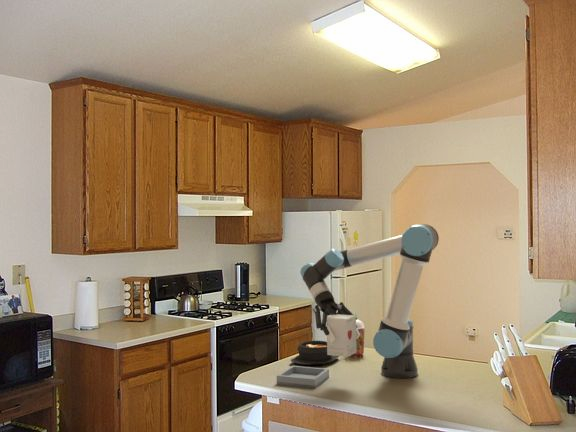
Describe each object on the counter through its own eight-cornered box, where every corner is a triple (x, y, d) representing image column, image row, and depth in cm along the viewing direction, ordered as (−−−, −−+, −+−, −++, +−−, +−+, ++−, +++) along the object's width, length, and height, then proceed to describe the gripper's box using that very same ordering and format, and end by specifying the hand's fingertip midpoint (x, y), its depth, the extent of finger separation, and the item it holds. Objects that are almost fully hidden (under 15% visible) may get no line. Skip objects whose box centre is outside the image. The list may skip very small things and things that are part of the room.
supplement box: (347, 357, 229) (346, 318, 228) (326, 355, 233) (325, 317, 233) (357, 352, 236) (356, 315, 236) (337, 350, 241) (336, 313, 241)
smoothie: (347, 357, 279) (346, 314, 279) (348, 353, 287) (347, 311, 287) (365, 357, 278) (364, 315, 277) (365, 353, 286) (365, 312, 286)
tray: (329, 377, 246) (329, 369, 246) (315, 388, 231) (315, 379, 231) (292, 373, 252) (292, 365, 252) (276, 384, 237) (276, 375, 237)
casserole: (310, 371, 256) (309, 351, 256) (281, 363, 270) (281, 345, 270) (349, 360, 273) (348, 342, 273) (320, 354, 287) (320, 336, 287)
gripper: (341, 298, 254) (365, 340, 241) (294, 304, 241) (317, 348, 228) (349, 287, 250) (373, 329, 236) (301, 292, 237) (324, 337, 224)
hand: (346, 339), depth 232 cm, fingers closed on supplement box, 11 cm apart
